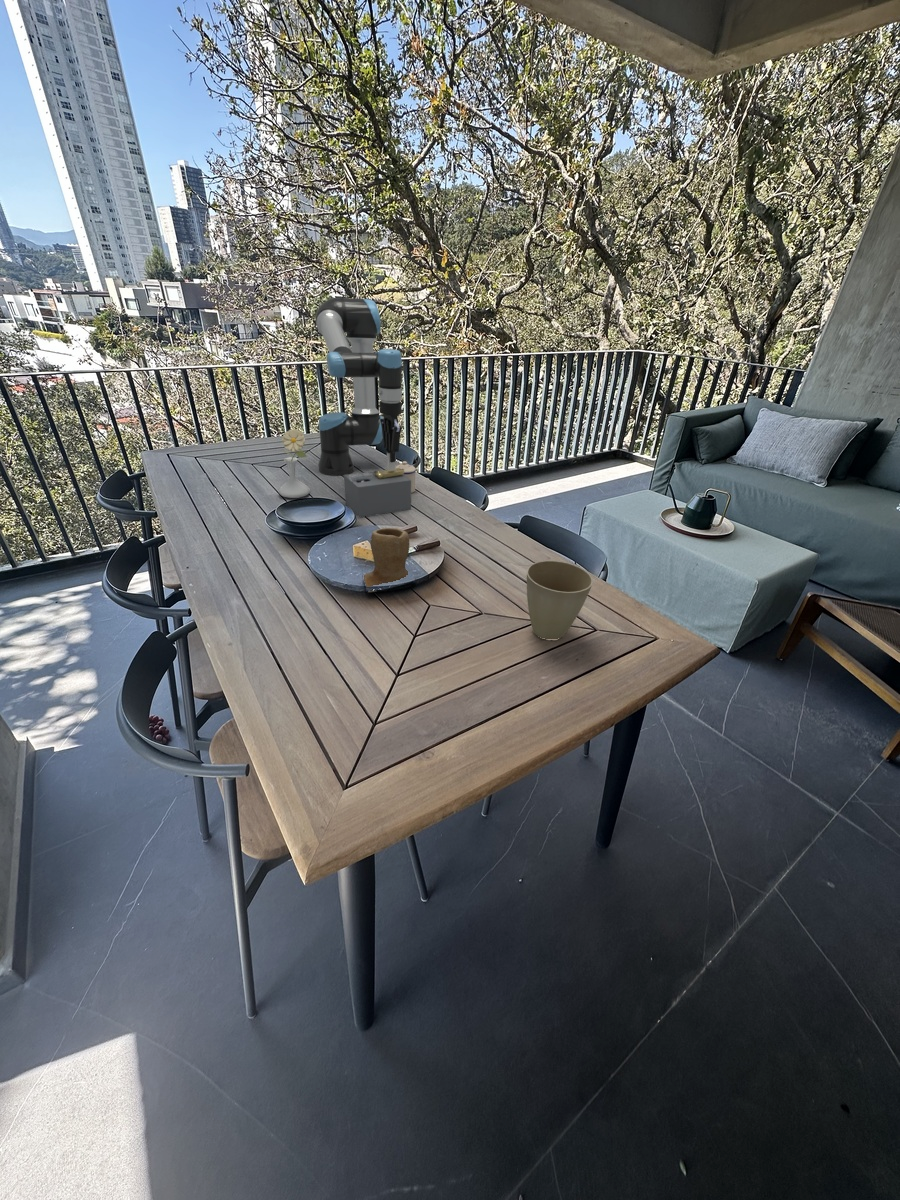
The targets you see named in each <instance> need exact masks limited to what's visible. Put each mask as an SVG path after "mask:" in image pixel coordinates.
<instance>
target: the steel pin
mask: <svg viewBox="0 0 900 1200" xmlns="http://www.w3.org/2000/svg"><path fill="white" fill-rule="evenodd" d="M367 472H368V473H364V472H359V473H360V474H356V473H351V474H352V475H349V480H350V481H351V482H356V481H357V483H359V482H366V480H371V479H373V474H372V473H370V472H371V471H367Z"/></svg>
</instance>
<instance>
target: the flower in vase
mask: <svg viewBox="0 0 900 1200" xmlns="http://www.w3.org/2000/svg"><path fill="white" fill-rule="evenodd" d="M281 442H282V445H283V448H284V449H285V450H283V449H282V451H283V452H284V453H286V454H288V455H289V456H291V457H285V458H283V460H282V461H283V462H285V464H286V466H287V469H288V480H287V481H286V482H285V483H283V484H282V485H281V487H279V488H278V494H279V495H280V496H282V497H284V498H288V499H297V498H298V499H299V498H303V497H305V496H308V495H309V493H310V492H311V489H310V488H309V486H308V485H306V484H305V483H304V482H302V481H300V480H299V479H298V478H297V476H296V464H297V462H298V458H307V457H308V455H307V454H306V453H305V452H304V451H303V450H302V449H303V447H304V445H305V443H306V438H305V436H304V433H303V432H302V431H301V430H300V431H299V430H298V429H295V428H292V429H288V431H285V432H284V434H283V436H282V439H281ZM286 450H287V451H286ZM289 451H290V452H293V453H294V454H293V455H292V454H291V453H290V452H289ZM295 455H297V457H298V458H297V457H295Z"/></svg>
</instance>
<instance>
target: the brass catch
mask: <svg viewBox="0 0 900 1200" xmlns="http://www.w3.org/2000/svg"><path fill="white" fill-rule="evenodd" d="M382 470H383V471H381V470H375V472H374V475H376V476H377V477H378V478H380V479H382V478H386V477H391V476H397V475H403V474H404V469H400V468H396V470H394V471H388V470H387V469H382Z"/></svg>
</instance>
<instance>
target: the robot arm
mask: <svg viewBox="0 0 900 1200" xmlns="http://www.w3.org/2000/svg"><path fill="white" fill-rule="evenodd" d="M314 320H315V325H316V328H317V330H318V332H319V333H320V334H321V335H322V337H323V339H324V343H325V345H326V347H327V350H328V353H327V355H326V365H327V366H326V367H327V372H328V374H329V376H331V377H332V378H343V379H344V378H352V380H353V382H352V383H353V398H354V399H353V400H354V407H353V409H352V410H351V411H350V412H351V416H348V414H347V413H346V412H343V411H341V412H339V411H338V412H329V413H325V414H323V415H321V417H319V419H318V430H319V439H320V442H319V443H320V457H319V461H318V465H317V466H318V468H317V469H318V472H319V473H320V474H323V475H328V476H344V475H348V474H353V472H354V471H355V467H354V466H355V465H354V462H353V460H352V457H351V454H350V448H349V446H366V445H367V446H373V445H378V444H380V443H383V445H382V446H383V448H384V449H385V451H386V470H388V471H394V470H396V466H397V465H396V460H397V459H396V454H397V453H399V450H400V441H401V432H402V429H403V427H402V425H399V417H398V416H399V415H401V414H402V412H403V411H402V409H403V407H402V402H401V401H402V399H403V395H402V394H403V391H402V390H403V388H402V368H403V367H402V366H403V361H402V353H401V351H400V350H398V349H392V348H390V349H389V348H383V349H379V350H378V351H376V352H374V343H375V341H376V340H377V335H379V334H380V333H381V331H382V330H381V329H382V328H381V325H382V322H381V316H380V312H379V308H378V305H377V304H376V302H375V301H374V300H373V299H366V298H352V297H351V298H350V297H332V298H328V299H326V300H325V301H324V302H322V303H321V305H319V307H318V308H317V310H316V313H315V319H314ZM375 378H378V391H377V394H378V397H379V398H378V399H379V403H378V408H379V410H378V409H377V408H376V389H375V388H376V386H375ZM380 414H381V415H380Z"/></svg>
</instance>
